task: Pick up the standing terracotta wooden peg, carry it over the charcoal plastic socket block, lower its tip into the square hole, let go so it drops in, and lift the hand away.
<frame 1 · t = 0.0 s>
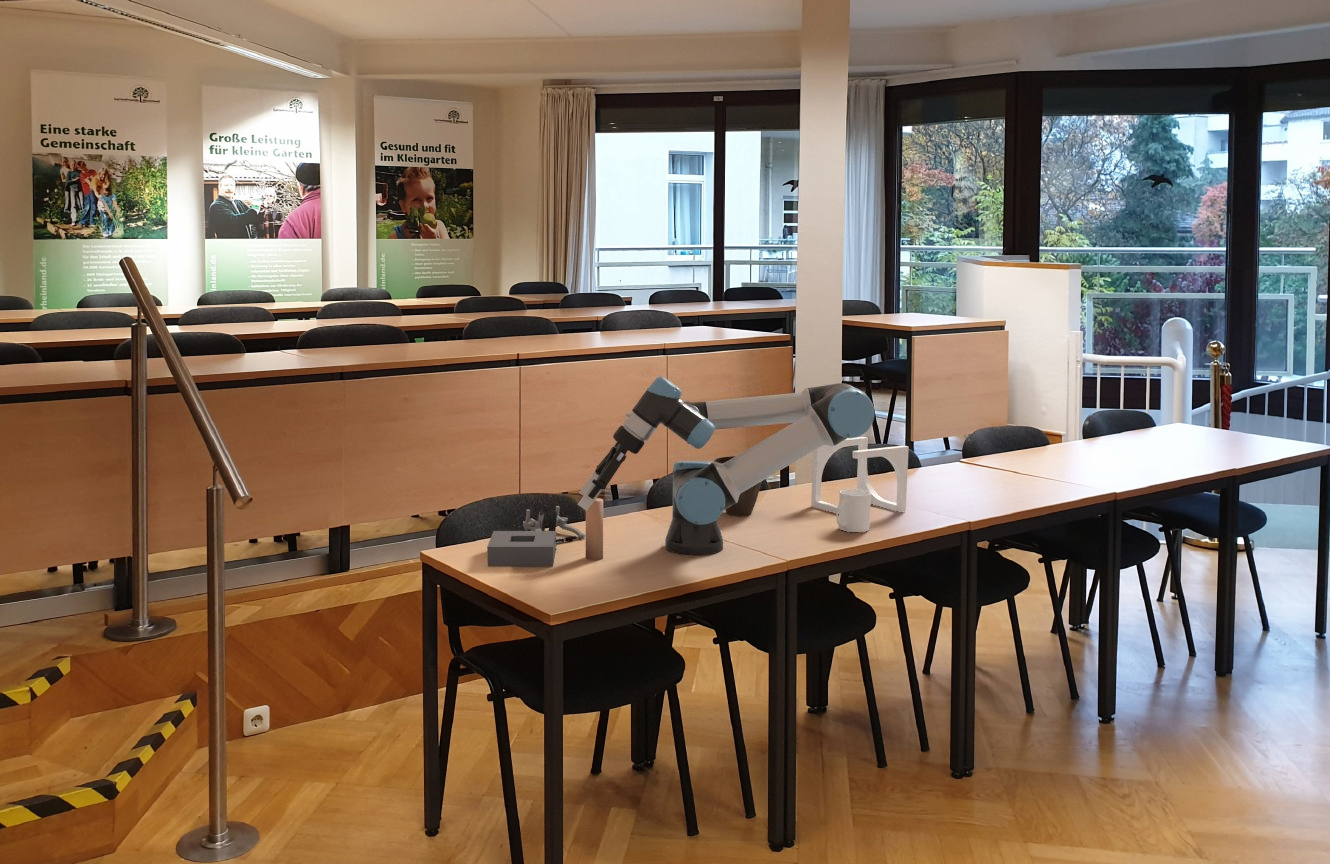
hand: (582, 501, 293), 15 cm above the table, tool tilted 35°, fingers open, 13 cm apart
mug: (849, 531, 331), on the table
white piece: (857, 510, 358), on the table
bike brake: (557, 540, 319), on the table
socket block: (522, 557, 298), on the table
peg: (594, 557, 299), on the table
plant pot: (738, 514, 351), on the table
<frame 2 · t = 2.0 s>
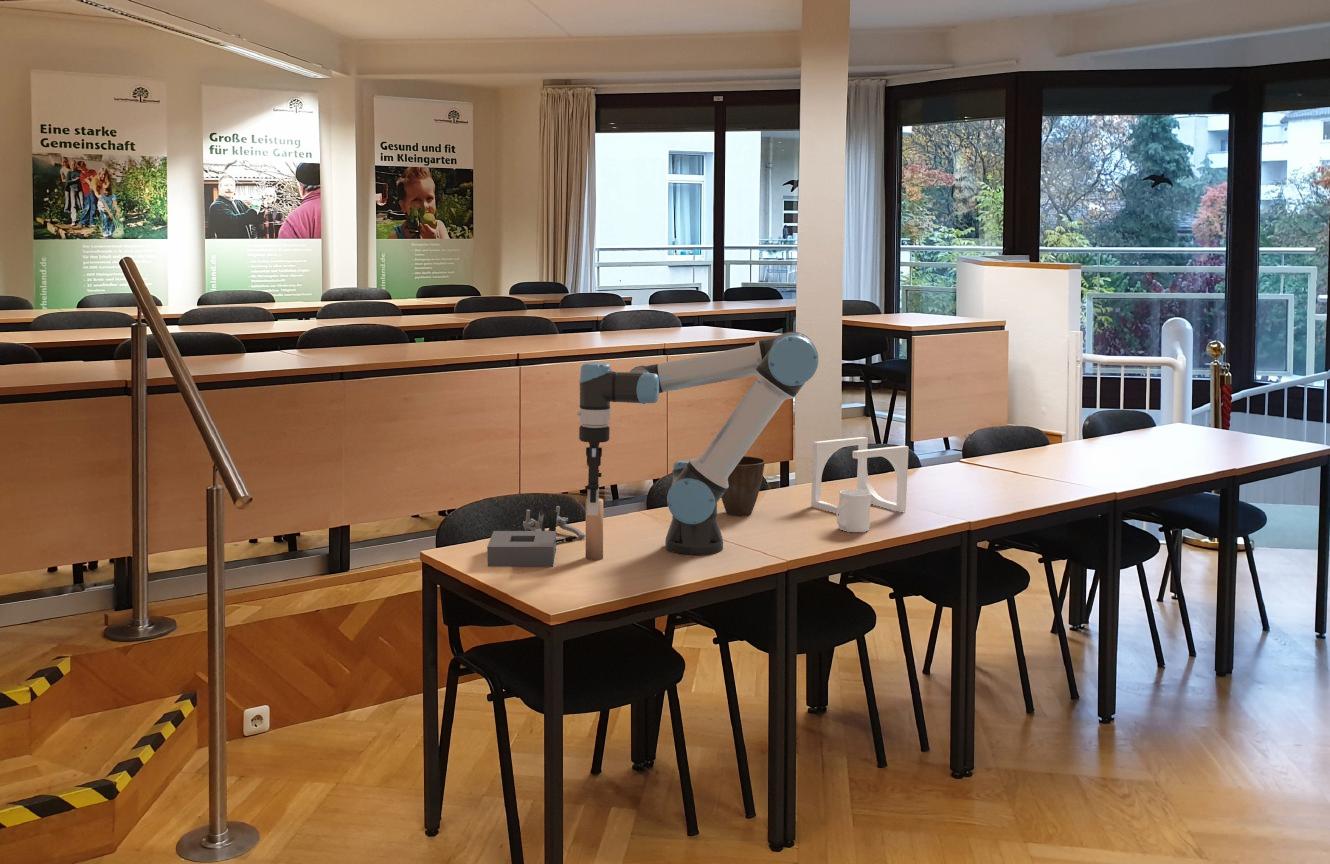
hand: (593, 508, 297), 13 cm above the table, tool pointing down, fingers open, 13 cm apart
nothing on the table moved.
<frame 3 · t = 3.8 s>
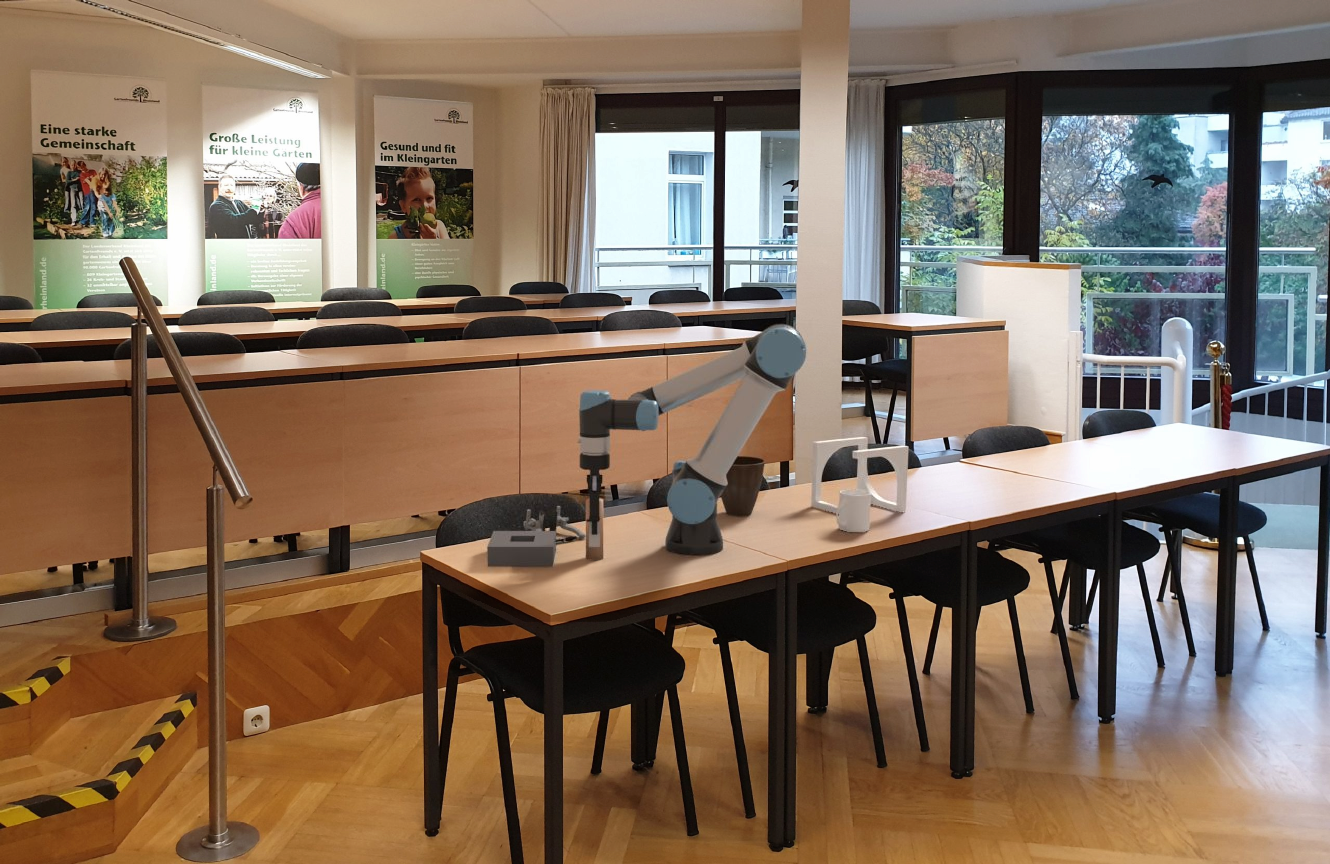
hand: (594, 543, 299), 4 cm above the table, tool pointing down, fingers closed on peg, 4 cm apart
peg: (594, 557, 299), on the table, touching gripper
everything else where it was.
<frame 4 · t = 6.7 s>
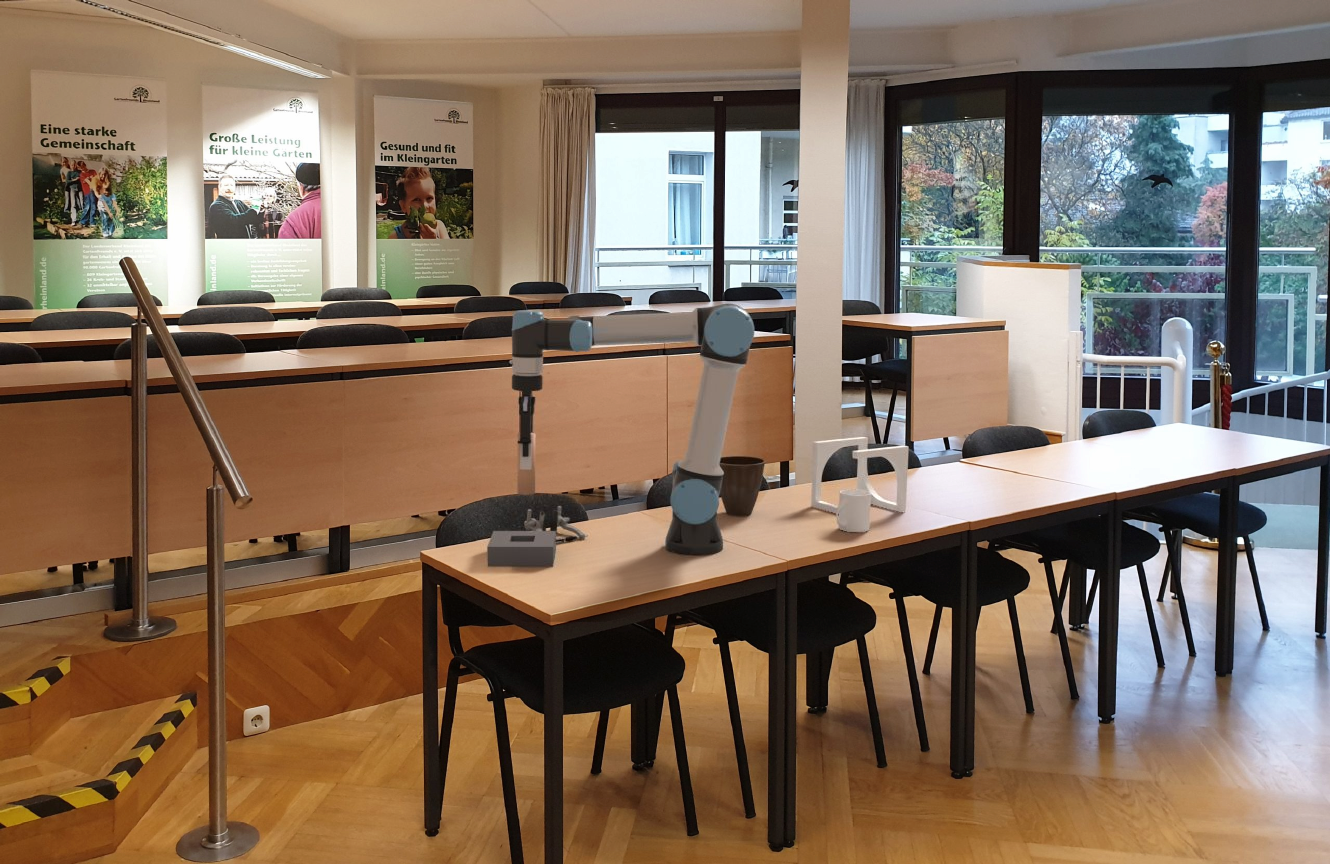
hand: (526, 467, 295), 23 cm above the table, tool pointing down, fingers closed on peg, 4 cm apart
peg: (526, 493, 296), point 17 cm above the table, touching gripper
everything else where it was.
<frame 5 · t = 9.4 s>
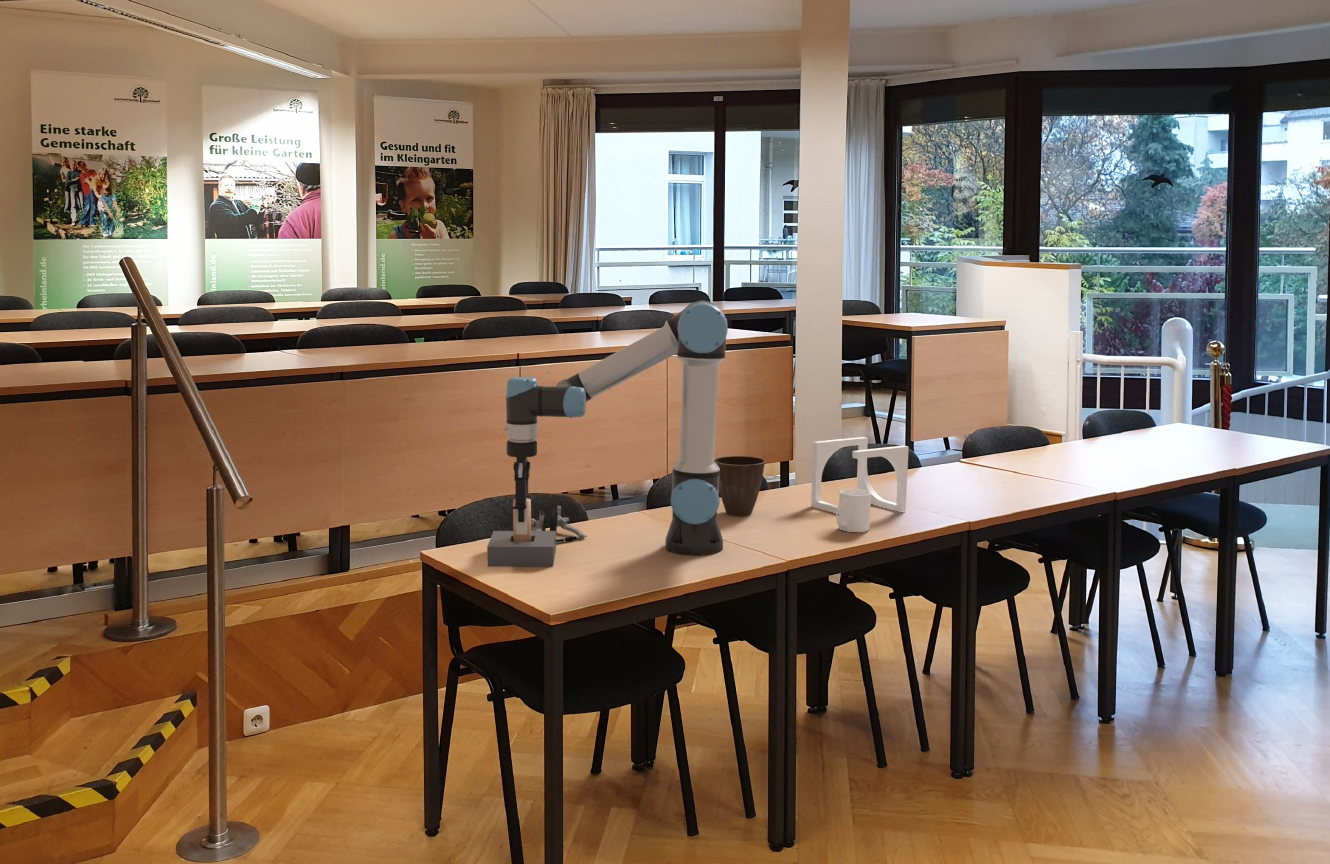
hand: (522, 531, 297), 7 cm above the table, tool pointing down, fingers closed on peg, 4 cm apart
bike brake: (557, 540, 318), on the table, touching socket block
peg: (522, 558, 298), resting in socket block, touching gripper
everything else where it was.
when the fingers open (7 cm above the table, at t = 9.6 s): peg stays where it is, resting in socket block.
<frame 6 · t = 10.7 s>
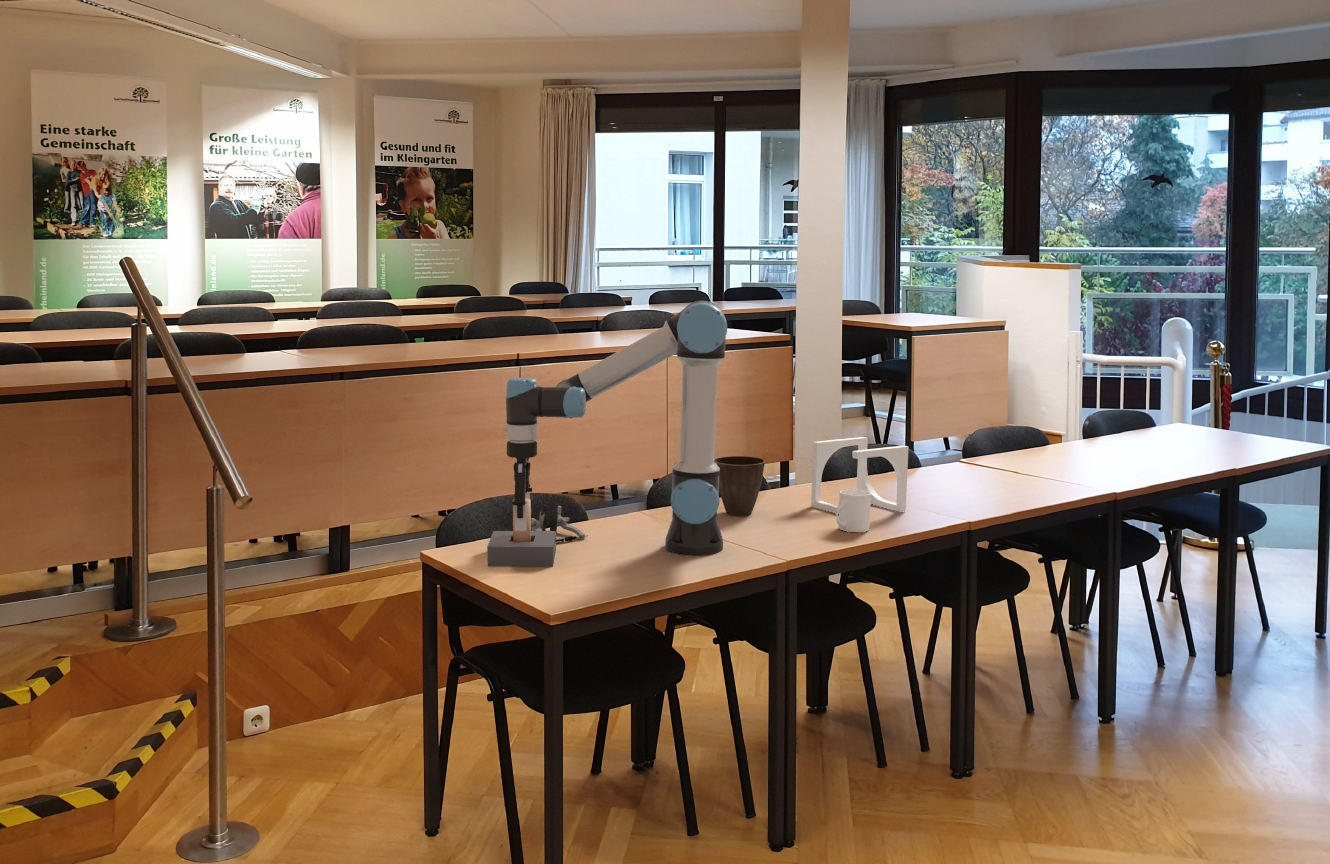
hand: (522, 524, 297), 9 cm above the table, tool pointing down, fingers open, 13 cm apart
bike brake: (558, 539, 319), on the table
peg: (522, 558, 298), resting in socket block
everything else where it was.
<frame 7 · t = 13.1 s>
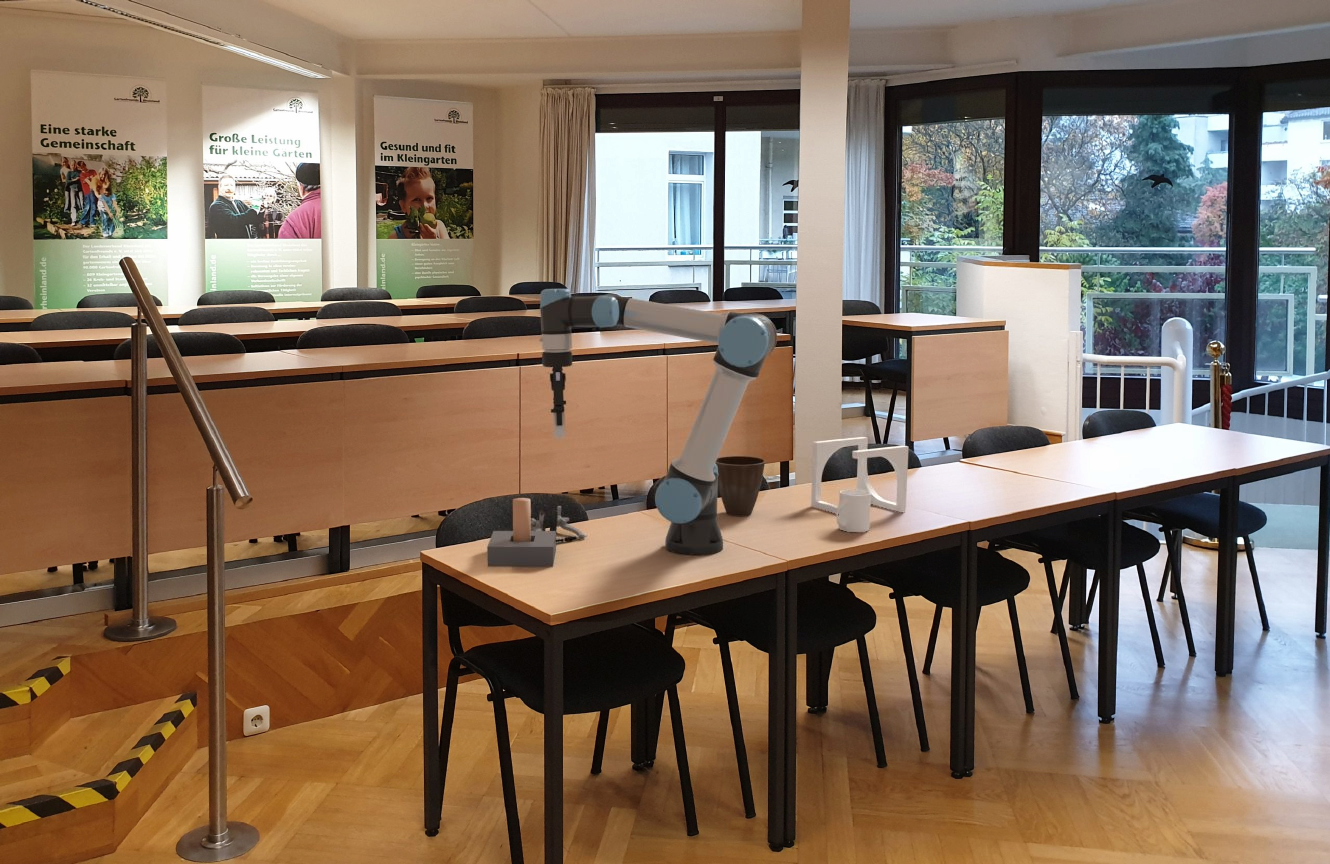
hand: (559, 434, 301), 30 cm above the table, tool pointing down, fingers open, 13 cm apart
nothing on the table moved.
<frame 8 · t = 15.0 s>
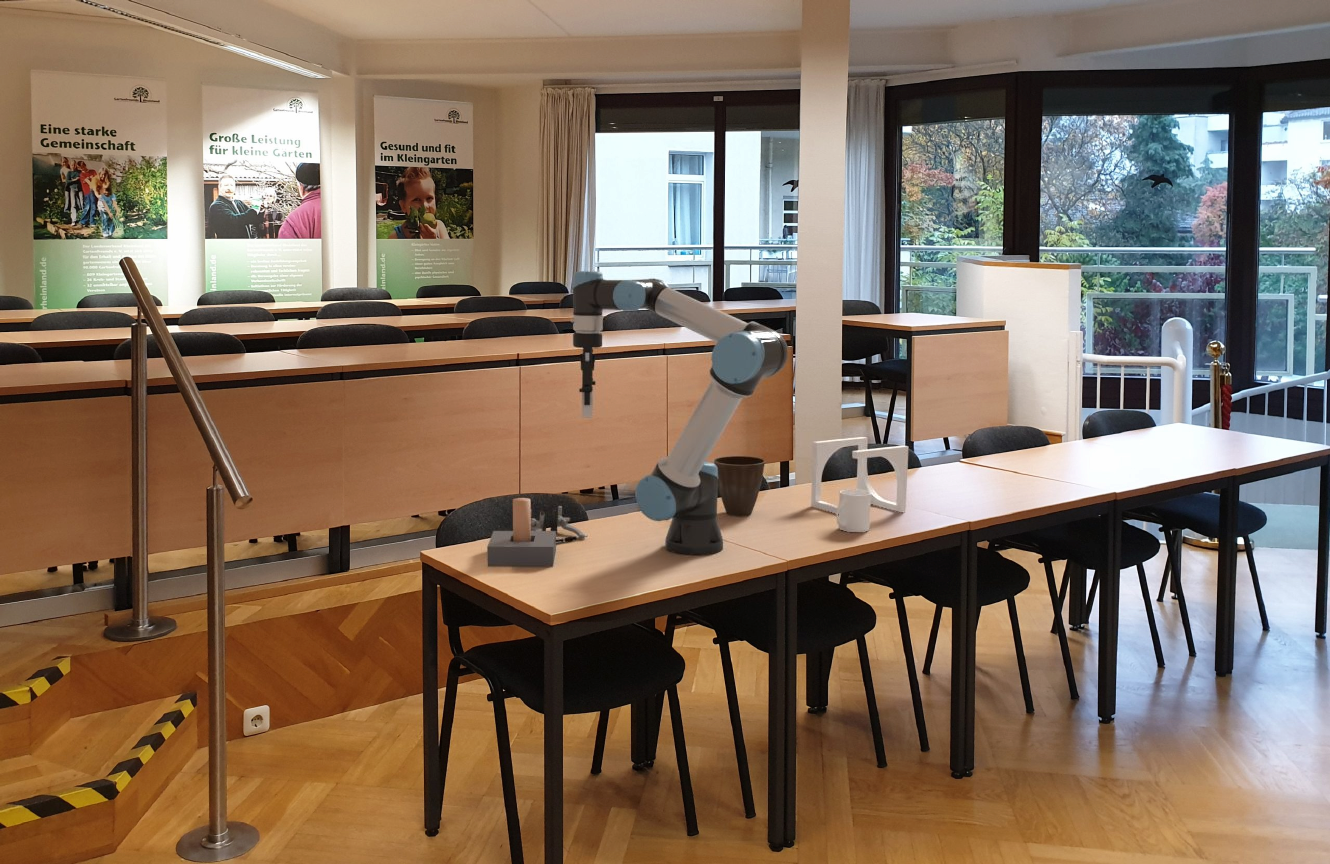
hand: (587, 413, 307), 35 cm above the table, tool pointing down, fingers open, 13 cm apart
nothing on the table moved.
at the end: peg 0.1 cm off-centre on the socket block, point 0.0 cm above the socket block's base; peg tilted 0°; the gripper is holding nothing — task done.
